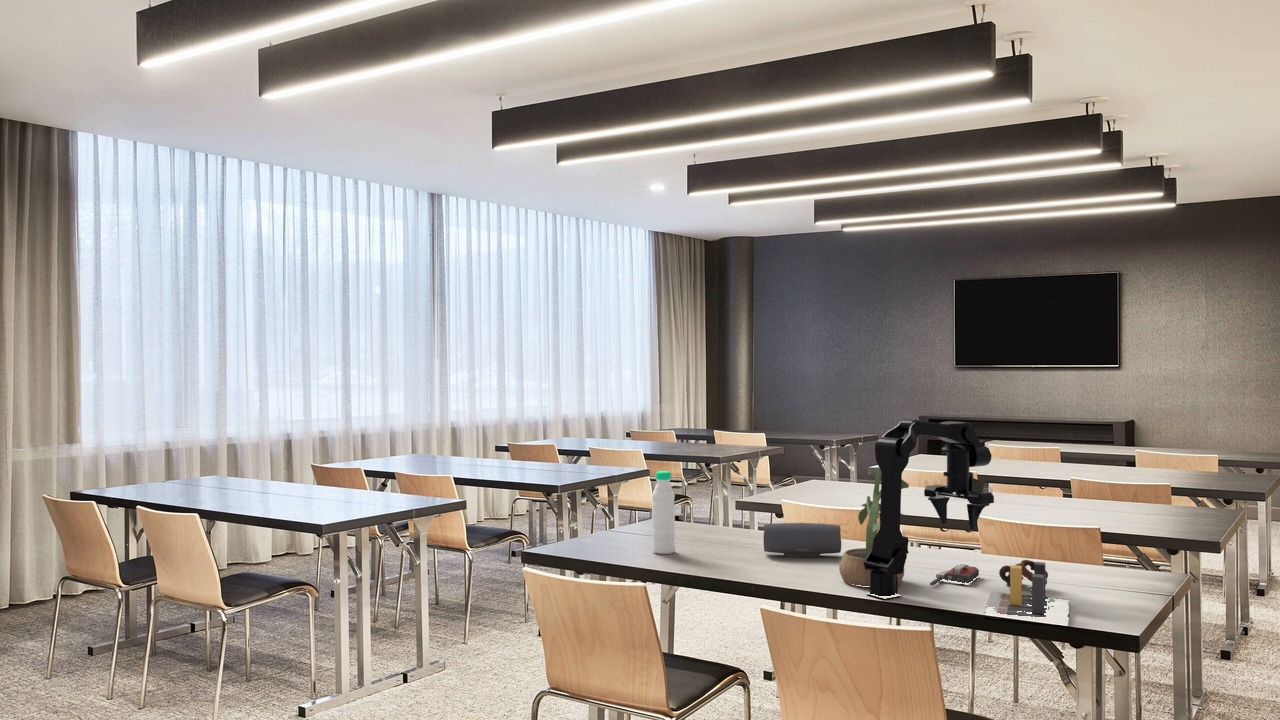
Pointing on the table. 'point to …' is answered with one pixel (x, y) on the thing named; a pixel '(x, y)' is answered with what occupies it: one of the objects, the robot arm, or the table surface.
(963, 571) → the walkie-talkie
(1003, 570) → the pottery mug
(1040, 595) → the grey ribbed panel
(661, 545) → the water bottle
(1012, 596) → the tan wooden tall block
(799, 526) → the bluetooth speaker
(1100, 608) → the table surface
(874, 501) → the potted plant
